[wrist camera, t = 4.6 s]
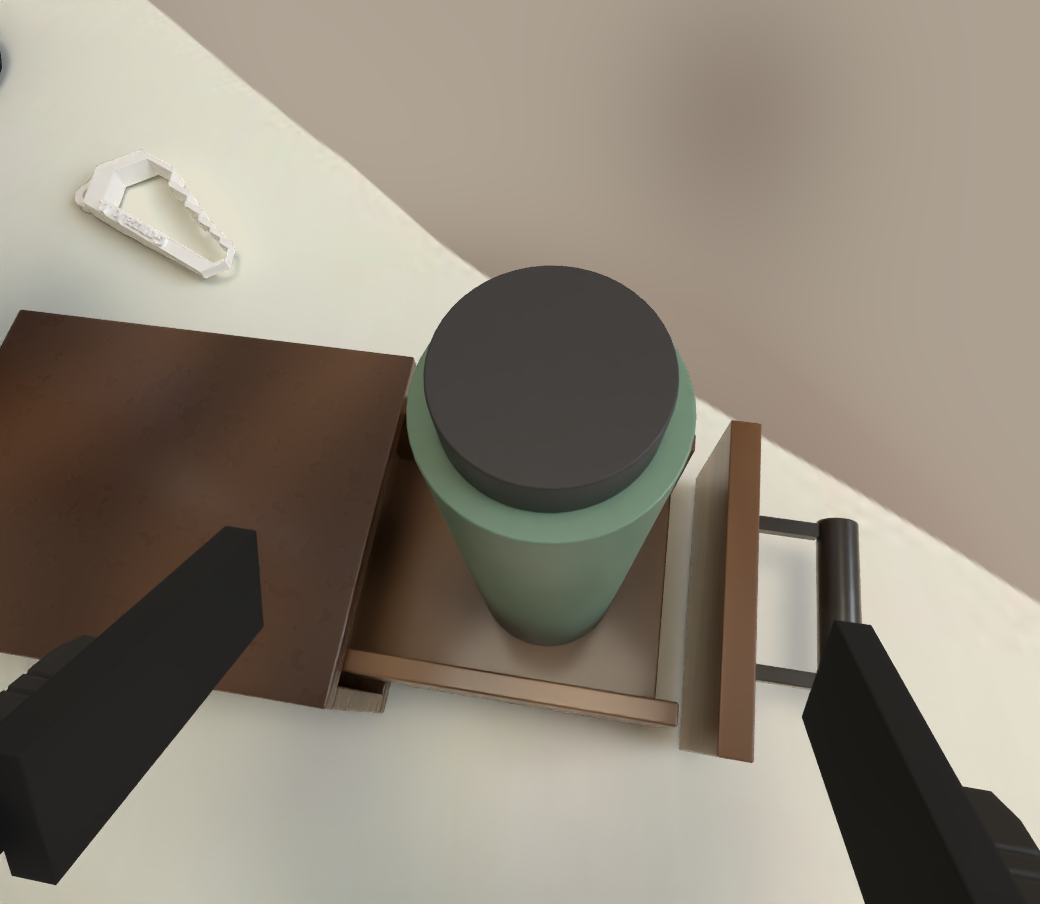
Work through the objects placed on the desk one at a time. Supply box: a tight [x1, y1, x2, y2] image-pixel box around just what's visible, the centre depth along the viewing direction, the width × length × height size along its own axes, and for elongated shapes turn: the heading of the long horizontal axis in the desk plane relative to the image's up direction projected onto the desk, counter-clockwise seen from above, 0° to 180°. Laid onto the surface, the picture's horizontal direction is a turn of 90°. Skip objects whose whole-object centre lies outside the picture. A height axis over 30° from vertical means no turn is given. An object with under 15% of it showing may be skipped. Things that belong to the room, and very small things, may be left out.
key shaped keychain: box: [75, 149, 236, 279], centre depth 41 cm, size 13×5×2 cm, turn 57°
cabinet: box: [0, 310, 417, 713], centre depth 29 cm, size 18×14×9 cm
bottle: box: [406, 266, 696, 646], centre depth 21 cm, size 6×6×19 cm
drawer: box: [341, 412, 862, 763], centre depth 28 cm, size 21×12×7 cm, turn 81°
